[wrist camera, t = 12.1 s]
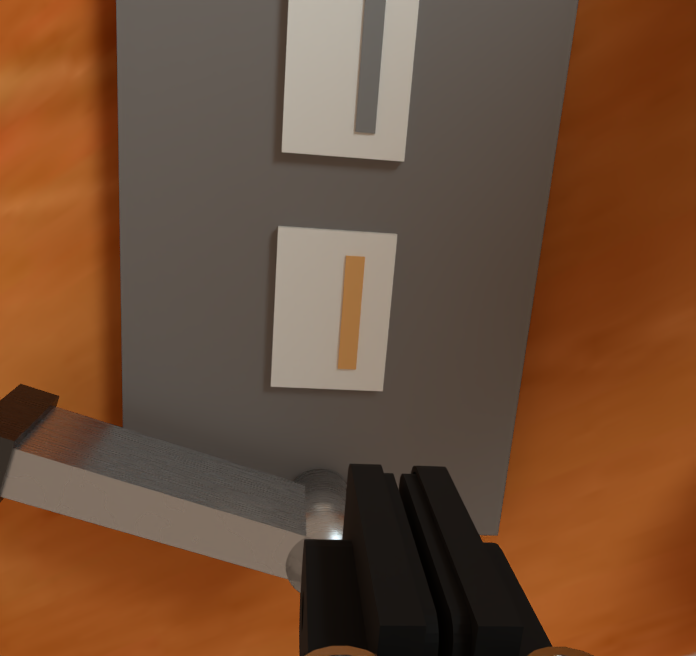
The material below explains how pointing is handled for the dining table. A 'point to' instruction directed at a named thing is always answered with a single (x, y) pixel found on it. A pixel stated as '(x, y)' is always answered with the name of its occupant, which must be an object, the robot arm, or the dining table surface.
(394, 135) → the label board
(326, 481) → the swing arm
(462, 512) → the robot arm
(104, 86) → the dining table surface
